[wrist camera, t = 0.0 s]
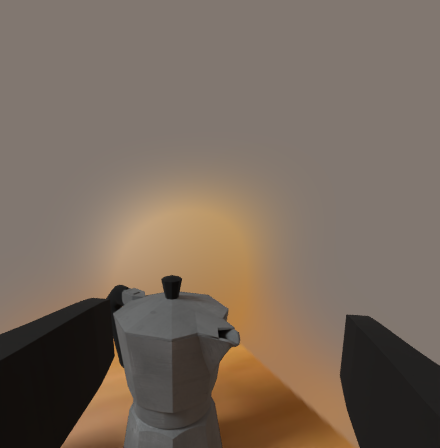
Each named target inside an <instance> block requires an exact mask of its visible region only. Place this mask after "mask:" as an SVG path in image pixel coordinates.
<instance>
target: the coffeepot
mask: <svg viewBox="0 0 440 448" xmlns="http://www.w3.org/2000/svg"><path fill="white" fill-rule="evenodd" d="M181 281H182V278H181V277H179V276H173V275H171V276H166V277H164V278H162V284H163V289H164V293H157V294H152V295H146V296H145V292H144V291H141V290H138V289H136V288H133V289H130V288H128V287H126V286H123V285H117V286H115V287H114V289H113V290H112V291H111V292H110V294H109V295H108V297H107V298H106V299H110V306H111V318H112V330H113V338H114V342H115V346H116V350H117V353H118V357H119V362H120V364H121V366H122V367H123V368H124V369H125V374H126V379H127V384H128V387H129V390H130V392H131V394H132V397H133V404H132V406H131V408H130V410H129V416H128V423H127V429H126V436H125V442H124V448H222V442H221V436H220V431H219V425H218V419H217V413H216V407H215V403H214V401H213V399H212V397H211V392H212V390H213V387H214V385H215V382H216V379H217V374H218V368H219V363H220V361H221V360H222V358H223V357H224V355H225V354H226V353H227V352H228V350H229V349H230V348H231V347H236V346H238V345H239V343H240V335H239V332H237V331H236V330H234V329H235V328H234V327H233V326H232V325H230V324H229V323H228V322H227V316H228V308H226V307H225V306H223V305H222V304H221V303H219V302H218V301H216V300H215V299H213V298H212V297H210V296H209V295H204V294H196V293H187V292H180V287H181ZM122 306H123V307H122Z"/></svg>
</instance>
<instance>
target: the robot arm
mask: <svg viewBox="0 0 440 448" xmlns="http://www.w3.org/2000/svg"><path fill="white" fill-rule="evenodd" d="M114 356H115V354H114V342H113V330H112V318H111V306H110V299H99V298H90V299H87V300H83V301H80V302H78V303H75V304H73V305H70V306H68V307H66V308H63V309H61V310H58V311H56V312H54V313H51V314H49V315H47V316H44V317H42V318H40V319H38V320H35V321H33V322H30V323H28V324H25V325H23V326H20V327H18V328H15V329H13V330H10V331H8V332H5V333H3V334H0V448H60V447H61V446H62V444H63V443H64V441H65V440H66V438H67V437H68V435H69V434H70V432H71V431H72V429H73V428H74V426H75V425H76V423H77V421H78V420H79V418H80V417H81V415H82V414H83V412H84V411H85V409H86V408H87V406H88V405H89V403H90V402H91V400H92V398H93V397H94V395H95V394H96V392H97V391H98V389H99V387H100V386H101V384H102V382H103V380H104V378H105V376H106V374H107V372H108V370H109V367H110V365H111V363H112V361H113V359H114ZM340 378H341V383H342V388H343V393H344V398H345V402H346V407H347V411H348V414H349V417H350V420H351V423H352V426H353V429H354V432H355V435H356V438H357V441H358V444H359V447H360V448H440V366H439V365H438V364H436V363H434V362H433V361H431V360H430V359H429V358H427V357H426V356H424V355H423V354H422V353H420V352H419V351H417V350H416V349H414V348H413V347H412V346H410V345H409V344H408V343H406V342H405V341H403V340H402V339H401V338H399V337H398V336H396V335H395V334H394V333H392V332H391V331H390V330H388V329H387V328H386V327H384V326H383V325H381V324H380V323H379V322H377V321H376V320H374V319H373V318H371V317H369V316H360V315H346V323H345V334H344V343H343V352H342V362H341V371H340Z"/></svg>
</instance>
